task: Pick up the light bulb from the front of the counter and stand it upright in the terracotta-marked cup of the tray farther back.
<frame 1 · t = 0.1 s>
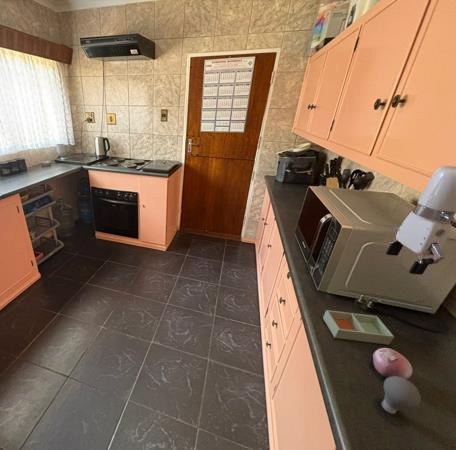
hand: (402, 263, 75), 22 cm above the countertop, tool pointing down, fingers open, 9 cm apart
tray: (354, 330, 79), on the countertop
light bulb: (387, 409, 59), on the countertop
onion: (385, 372, 67), on the countertop
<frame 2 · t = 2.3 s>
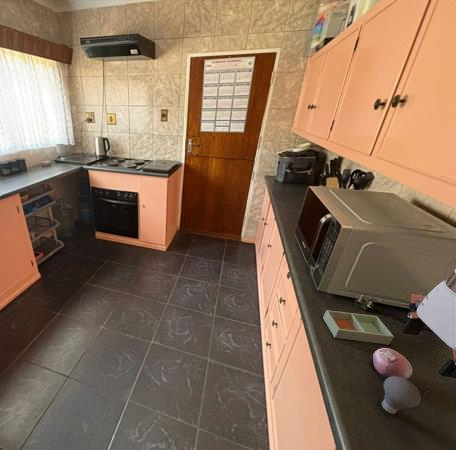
hand: (426, 352, 51), 19 cm above the countertop, tool pointing down, fingers open, 9 cm apart
nothing on the countertop moved.
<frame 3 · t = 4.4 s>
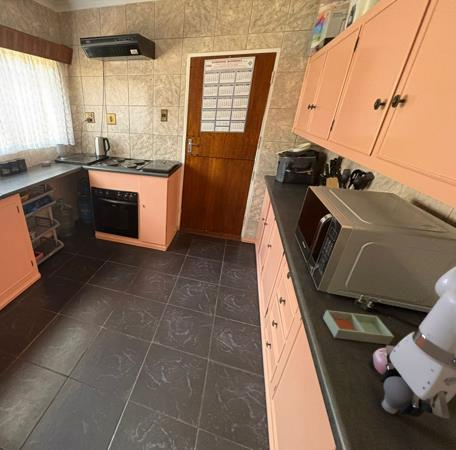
hand: (397, 396, 57), 5 cm above the countertop, tool pointing down, fingers closed on light bulb, 6 cm apart
light bulb: (387, 409, 59), on the countertop, touching gripper
everything else where it was.
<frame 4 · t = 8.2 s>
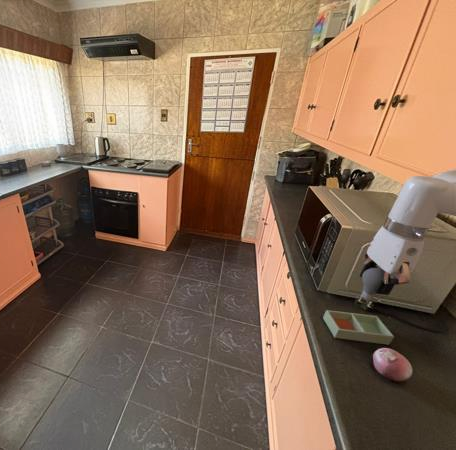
hand: (373, 284, 68), 21 cm above the countertop, tool pointing down, fingers closed on light bulb, 6 cm apart
light bulb: (365, 298, 71), point 15 cm above the countertop, touching gripper
everything else where it was.
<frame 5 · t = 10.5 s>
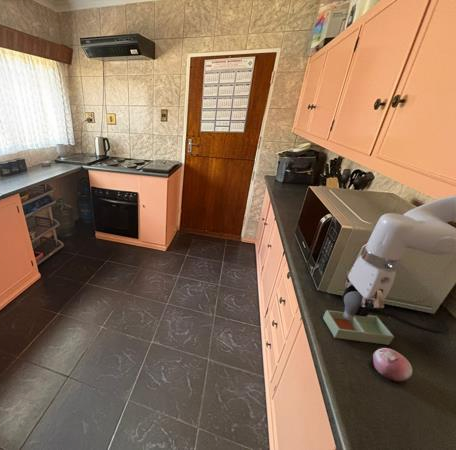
hand: (353, 306, 75), 10 cm above the countertop, tool pointing down, fingers closed on light bulb, 6 cm apart
light bulb: (347, 318, 77), point 5 cm above the countertop, touching gripper
everything else where it was.
when the fingers open (6 cm above the countertop, at t = 12.1 s): light bulb stays where it is, resting on tray.
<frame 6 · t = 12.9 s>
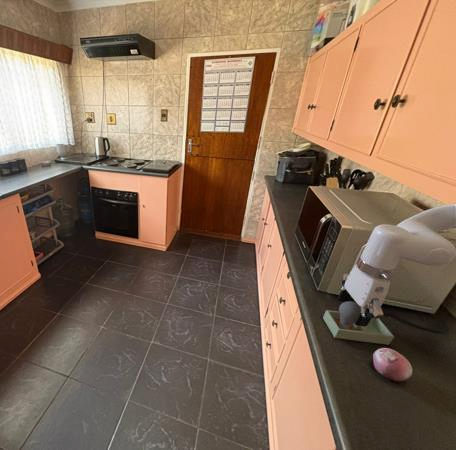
hand: (350, 312, 76), 7 cm above the countertop, tool pointing down, fingers open, 9 cm apart
light bulb: (342, 327, 79), point 1 cm above the countertop, touching tray
everything else where it was.
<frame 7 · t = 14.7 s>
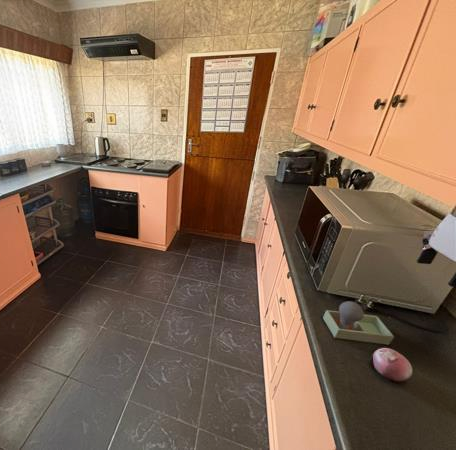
hand: (438, 273, 65), 26 cm above the countertop, tool pointing down, fingers open, 9 cm apart
nothing on the countertop moved.
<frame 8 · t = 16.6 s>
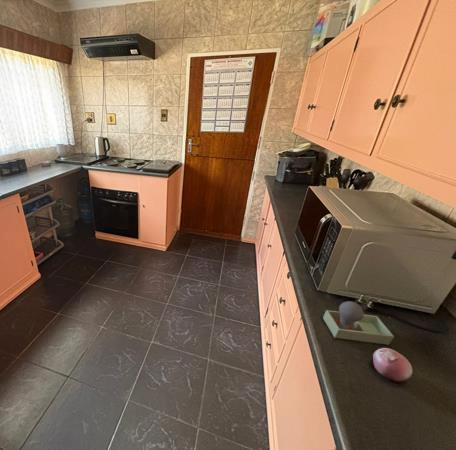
nothing on the countertop moved.
at the end: light bulb 0.0 cm from the target spot in the tray, point 0.6 cm above the tray's base; light bulb tilted 0°; the gripper is holding nothing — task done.
